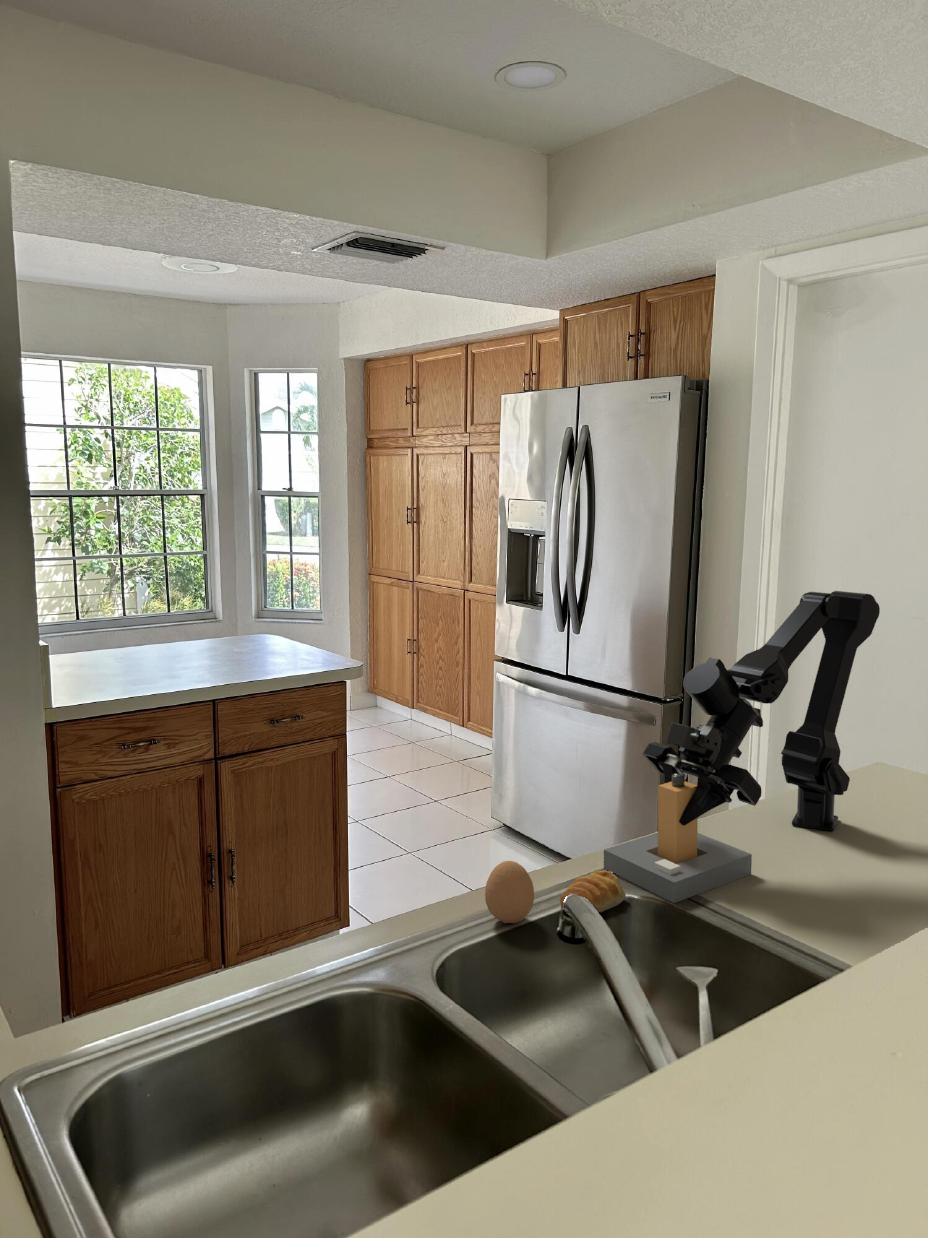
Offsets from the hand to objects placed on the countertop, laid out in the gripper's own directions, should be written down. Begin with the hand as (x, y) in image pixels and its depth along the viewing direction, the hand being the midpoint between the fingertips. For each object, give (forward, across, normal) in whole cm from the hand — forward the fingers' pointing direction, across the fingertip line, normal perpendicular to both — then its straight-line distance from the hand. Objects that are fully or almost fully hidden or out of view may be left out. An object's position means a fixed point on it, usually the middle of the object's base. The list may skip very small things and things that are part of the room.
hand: (671, 820), depth 132 cm
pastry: (+17, 0, -5) cm, 18 cm away
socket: (+5, 0, +7) cm, 8 cm away
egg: (+26, -2, -14) cm, 29 cm away
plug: (+4, 0, +6) cm, 7 cm away
